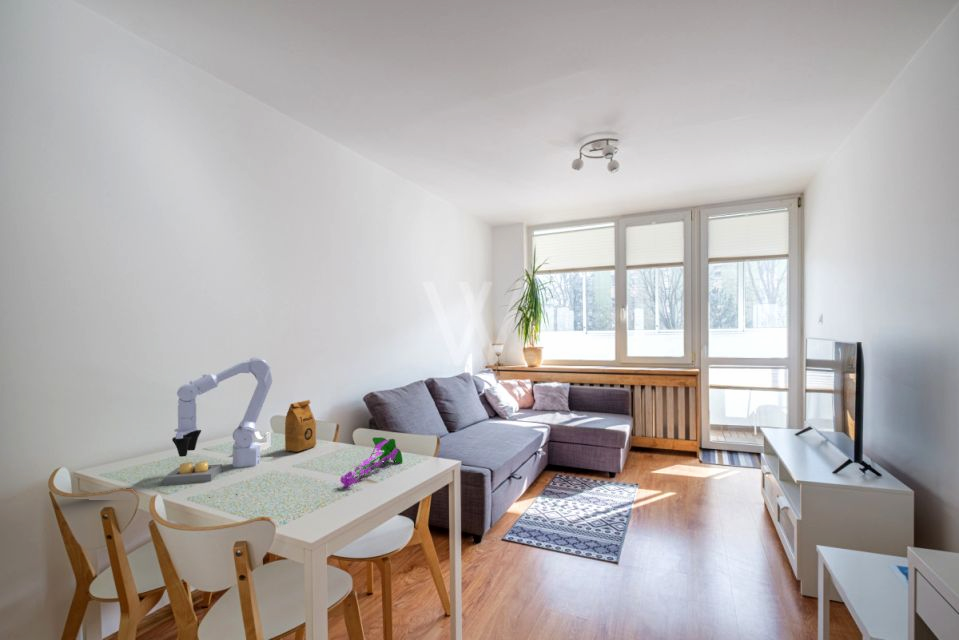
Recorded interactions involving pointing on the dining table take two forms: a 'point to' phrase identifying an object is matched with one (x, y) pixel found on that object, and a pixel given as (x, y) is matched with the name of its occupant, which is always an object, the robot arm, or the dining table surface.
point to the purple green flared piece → (388, 453)
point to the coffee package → (300, 427)
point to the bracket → (262, 440)
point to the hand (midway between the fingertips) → (187, 453)
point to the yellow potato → (201, 467)
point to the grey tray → (192, 475)
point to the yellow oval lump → (186, 468)
